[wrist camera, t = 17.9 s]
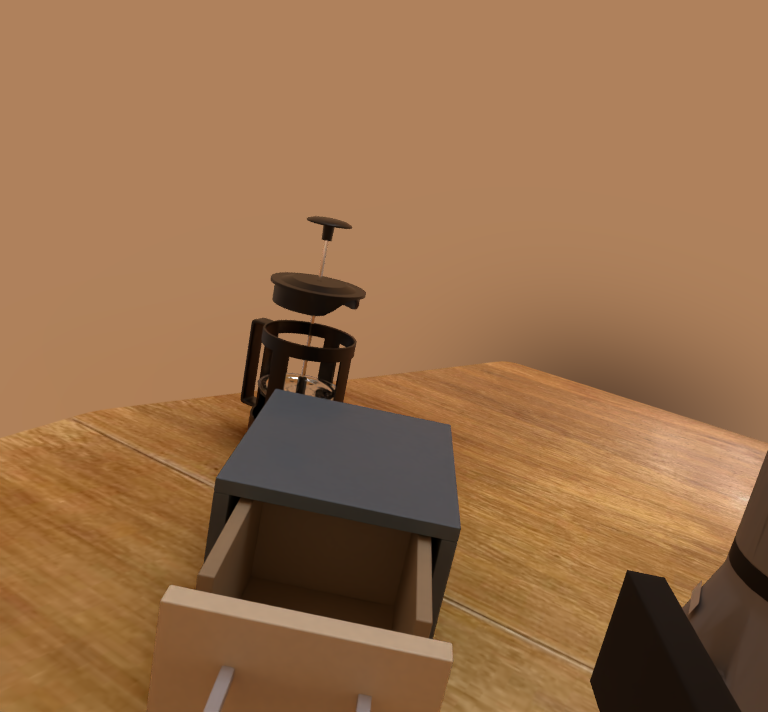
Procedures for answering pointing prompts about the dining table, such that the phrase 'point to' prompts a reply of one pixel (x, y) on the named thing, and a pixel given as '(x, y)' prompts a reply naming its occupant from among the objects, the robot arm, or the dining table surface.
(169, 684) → the drawer
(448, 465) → the cabinet
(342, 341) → the french press
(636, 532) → the dining table surface
